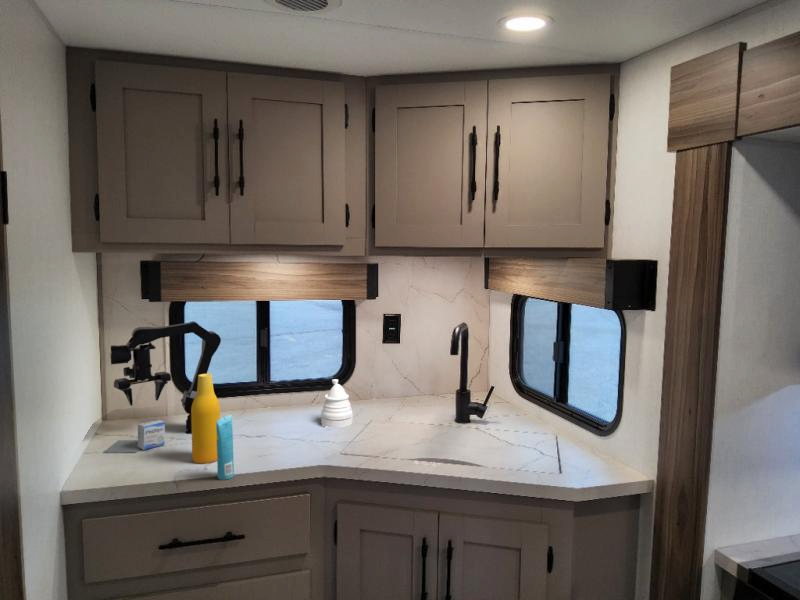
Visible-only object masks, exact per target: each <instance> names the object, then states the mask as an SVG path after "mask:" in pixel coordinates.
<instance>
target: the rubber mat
mask: <svg viewBox="0 0 800 600" xmlns="http://www.w3.org/2000/svg"><path fill="white" fill-rule="evenodd" d="M139 450H141V449H140V448H139V447H138V439H129V440H128V439H122V440H121V439H118V440H116V442H115V443H112V445H110V446H109V447H108V448H107V449H105V450H104V451H103V452H102V453H103V454H136V453H137V452H139Z"/></svg>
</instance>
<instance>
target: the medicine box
mask: <svg viewBox="0 0 800 600" xmlns="http://www.w3.org/2000/svg"><path fill="white" fill-rule="evenodd" d="M165 426H166V424H165V421H164V420H161V419H156V420H151V421H145V422H143V423H137V440H138V447H139V448H141V449H140V450H143V451H146V450H151V449H153V448H157V447H161V445H162V446H164V445H165V435H166V434H165V431H166V429H165V428H166V427H165Z"/></svg>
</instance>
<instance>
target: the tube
mask: <svg viewBox="0 0 800 600" xmlns="http://www.w3.org/2000/svg"><path fill="white" fill-rule="evenodd" d="M216 423H217V461H216V462H217V463H216V464H217V467H216V469H217V479H218V480H220V481H221V480H224V481H225V480H229V479H232V478H233V477H234V476H235V471H234V470H235V469H234V468H235V467H234V466H235V465H234V462H235V461H234V436H233V435H234V433H233V431H234V430H233V415H232V414H231V413H230V414H227V415H226V416H225V417H221V418H220V419H219V420H217V422H216Z"/></svg>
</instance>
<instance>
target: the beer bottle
mask: <svg viewBox="0 0 800 600" xmlns="http://www.w3.org/2000/svg"><path fill="white" fill-rule="evenodd" d="M212 376H213V375H212V374H211V373H207V374H200V375H199V376H198V386H197V394H196V396H195V398H194V401H193V403H192V408H191V420H192V433H191V458H192V462H194V463H196V464H199V463H200V464H201V465H202V464H203V465H205V463H207V464H211V462H212V463H215V462H217V423H216V422H217V420H219V419H221V406H220V401H219V399H218V397H217V395H216V394H215V390H214V383H213V381H214V380H213V377H212Z"/></svg>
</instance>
